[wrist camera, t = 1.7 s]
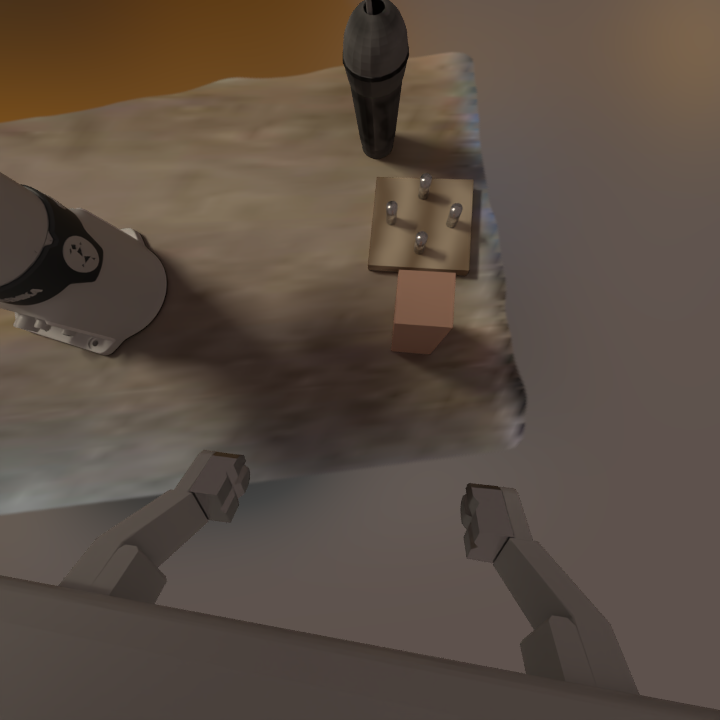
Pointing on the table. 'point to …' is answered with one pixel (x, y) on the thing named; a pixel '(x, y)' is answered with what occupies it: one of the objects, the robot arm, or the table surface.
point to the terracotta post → (422, 310)
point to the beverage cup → (376, 71)
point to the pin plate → (421, 225)
